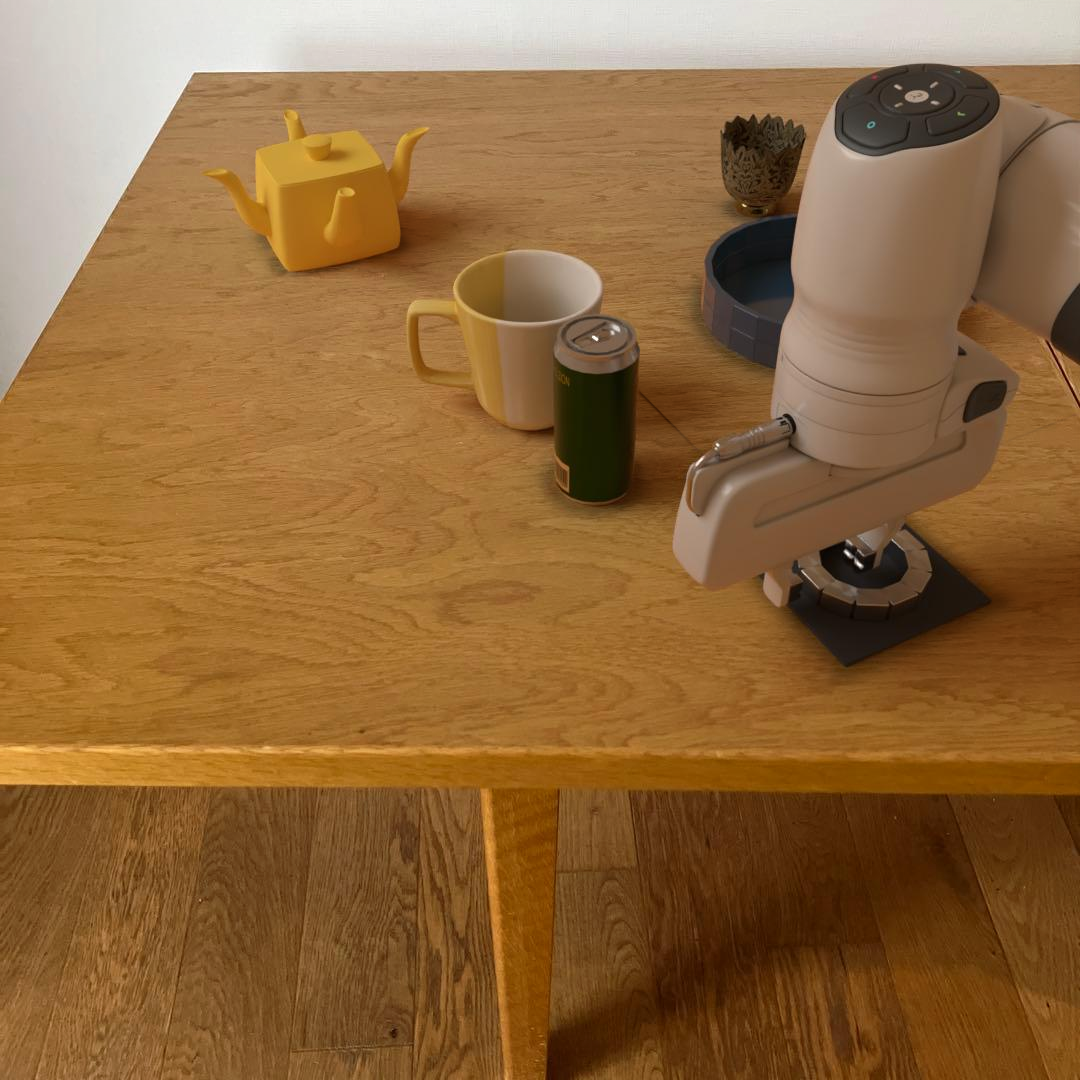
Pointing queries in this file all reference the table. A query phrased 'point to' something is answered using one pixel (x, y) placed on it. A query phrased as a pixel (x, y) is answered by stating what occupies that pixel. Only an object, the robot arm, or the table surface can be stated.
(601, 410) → the beer can
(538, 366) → the mug
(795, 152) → the cup
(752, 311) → the bowl
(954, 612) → the mat
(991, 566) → the table surface
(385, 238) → the teapot
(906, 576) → the ring
